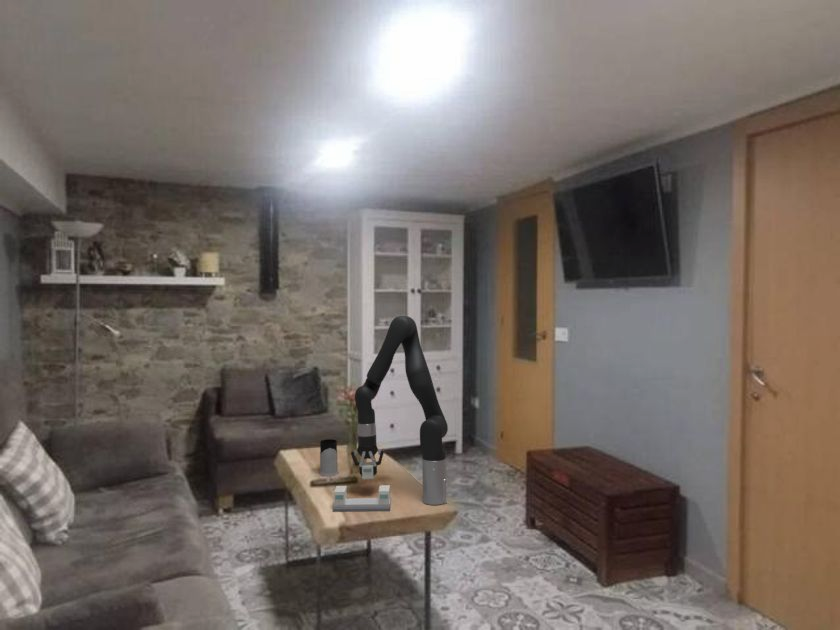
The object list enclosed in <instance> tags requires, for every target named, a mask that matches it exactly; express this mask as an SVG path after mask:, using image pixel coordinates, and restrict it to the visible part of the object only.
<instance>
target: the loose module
mask: <svg viewBox="0 0 840 630" xmlns="http://www.w3.org/2000/svg"><path fill="white" fill-rule="evenodd" d="M373 466H374V465H373V462H372V461H363V465H362V476H361V477H362V478H361V479H362V480H373V479H374V477H375V476H374V473H373Z"/></svg>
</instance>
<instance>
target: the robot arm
mask: <svg viewBox="0 0 840 630" xmlns="http://www.w3.org/2000/svg"><path fill="white" fill-rule="evenodd" d="M383 340H384V341H383V342H382V345H381V347H380V350H379V352H378V353H377V355H376V357H375V358H374V360H373V363H372V364H371V366H370V368H369V369H368V371H367V374H366V379H365V381H364V383H363V385H360V386H359V387H357V388H356V390H355V393H354V402H355V408H356V411H357V431H356V432H357V433H356V434H357V449H354V450H351V452H350V455H351V459H352V461H353V463H354V466H355V467H358V471H359V475H361V477H362V465H363V462H364V460H367V459H368V460H371V462H373V465H374V466H373V473H374V477H375V476H376V475H377V473H378V466H380V465H382V461H383V456H384V453H385V449H379V448H378V446H377V426H376V425H377V424H376V412H375V409H374V408H373V407H372V406H373V405H372V401H373V400H374V399H375V398H376V396H377V395H378V392H379V391H380V388H381V384H382V382H383V381H384V380H385V378H386V376H387V375H388V372H389V370H390V368H391V366H392V364H393V360H394V358H395V357H394V356H395V354H396V352H397V350H398V348H399V347H400V345H402V348H403V353H404V365H405V366H404V367H405V373H406V374H405V375H406V378H407V382H408V385H409V388H410V390H411V392H412V394H413V396H414V397H415V398H416V399H417V401H418V403H419V404H420V406H421V408H422V411H423V414H424V419H425V420H424V421H422V423H420V428H419V446H420V452H421V455H422V457H421V459H422V460H421V462H422V463H421V465H422V470H421V471H422V473H421V474H422V503H424V504H425V505H429V506H439V505H443V504H447V475H446V474H447V469H446V468H447V466H446V465H447V464H446V463H447V461H446V457H447V456H446V455H447V454H446V450H444V449H443V438H444V437H446V436H447V434H448V430H449V427H448V423H447V420H446V418H445V415H444V413H443V411H442V408H441V406H440V405H441V404H440V403H439V400H438V397H437V393H436V389H435V386H434V384H433V380H432V379H433V378H432V374H431V372H430V369H429V367H428V364H427V361H426V358H425V355H424V351H423V350H422V346H421V342H420V337H419V332H418V327H417V323H416V321H415V320H414V319H413V318H412V317H410V316H409V315H404V316H403V315H400V316H396V317H394V318H393V319H392V320H391V322H390V325H389V327H388V329H387V332H386V335H385V337H384V339H383ZM377 453H378V455H379V457H378V460H376V456H375V455H376V454H377ZM357 454H359V456H360V460H358V458H357Z"/></svg>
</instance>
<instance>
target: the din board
mask: <svg viewBox="0 0 840 630" xmlns="http://www.w3.org/2000/svg"><path fill="white" fill-rule="evenodd" d="M347 487H348V486H347V485H336V486H335V489H334V492H333V496H334V497H333V499H334V501H333V508H332V512H333V513H334V512H335V513H336V512H337V513H338V512H339V513H342V512H344V513H345V512H346V513H347V512H350V513H351V512H353V513H355V512H390V511H391V506H392V505H391V504H392V503H391V502H392V498H391V485H390V484H389V485H387V484H385V485H383V484H382V485H381V484H380V485H379V487H378V497H361V498H360V497H358V498H357V497H353V498H350V497H349V498H348V493H347V492H348V488H347Z"/></svg>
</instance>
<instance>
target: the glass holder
mask: <svg viewBox="0 0 840 630" xmlns="http://www.w3.org/2000/svg"><path fill="white" fill-rule="evenodd" d="M319 444H320V446H319V447H320V448H319V449H320V451H319V460H320V461H319V463H320V464H319V467H320V468H319V469H320V471H319V474H318V475H319V476H322V477H333V476H337V475H339V470H338V442H337V439H331V438H328V439H323V440H322V439H321V440H320V441H319Z"/></svg>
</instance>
